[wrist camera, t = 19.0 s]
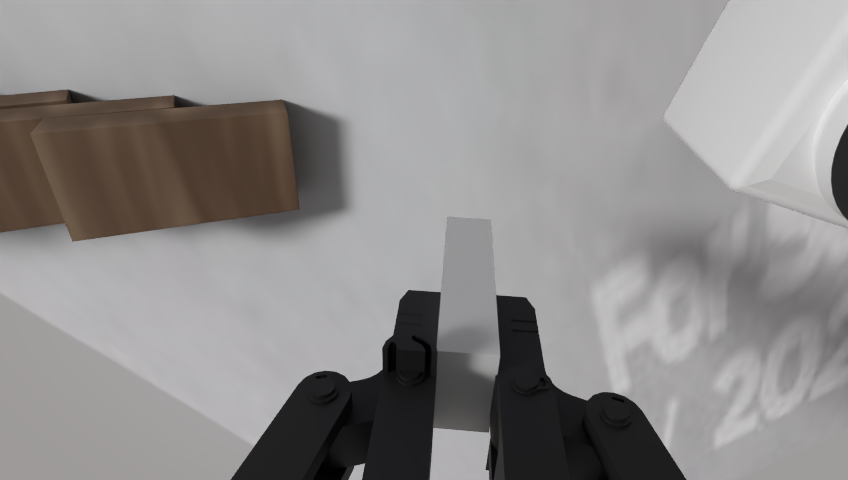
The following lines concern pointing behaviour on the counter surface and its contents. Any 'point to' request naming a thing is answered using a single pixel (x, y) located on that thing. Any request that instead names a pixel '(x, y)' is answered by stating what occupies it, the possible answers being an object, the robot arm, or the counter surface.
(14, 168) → the domino
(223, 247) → the counter surface
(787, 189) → the container
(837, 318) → the counter surface
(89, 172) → the domino
